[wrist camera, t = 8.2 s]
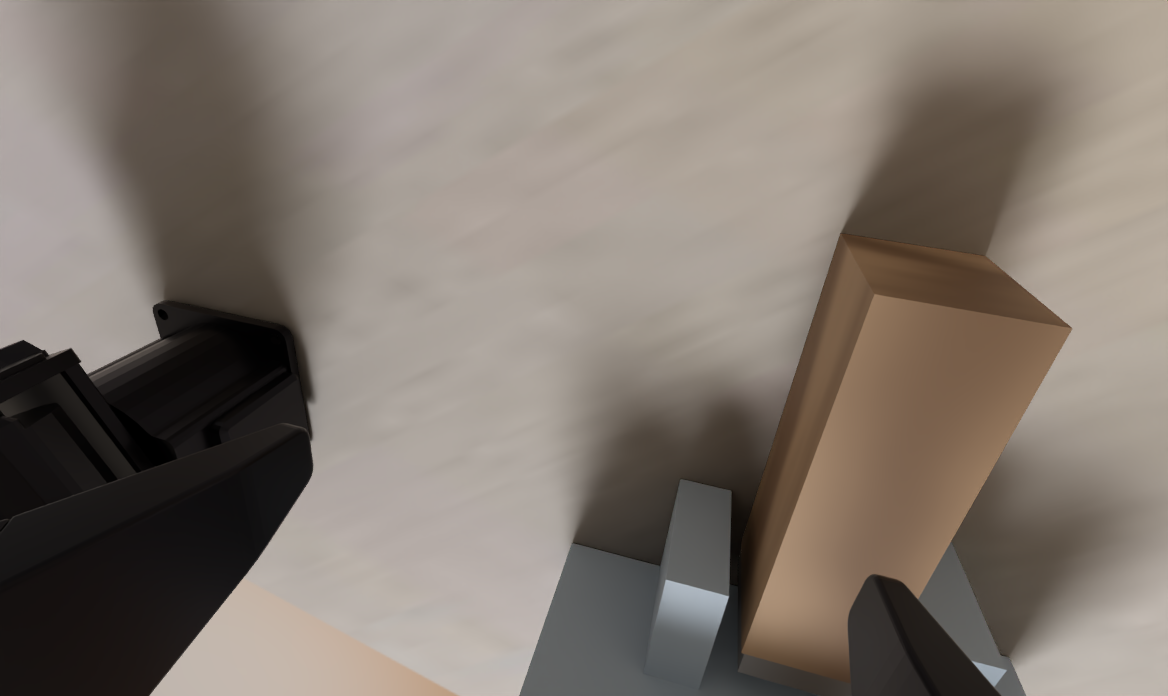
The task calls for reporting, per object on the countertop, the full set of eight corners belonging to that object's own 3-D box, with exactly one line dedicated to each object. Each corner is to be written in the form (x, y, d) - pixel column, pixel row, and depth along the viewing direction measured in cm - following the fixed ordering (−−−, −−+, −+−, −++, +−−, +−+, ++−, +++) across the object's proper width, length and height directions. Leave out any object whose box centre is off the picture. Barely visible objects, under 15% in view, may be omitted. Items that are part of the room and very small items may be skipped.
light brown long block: (735, 558, 24) (734, 671, 19) (840, 233, 17) (874, 294, 13) (835, 584, 23) (857, 706, 19) (984, 255, 16) (1072, 328, 12)
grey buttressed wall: (568, 576, 27) (482, 834, 18) (582, 455, 23) (485, 701, 14) (985, 689, 24) (1130, 1067, 15) (1072, 571, 20) (1328, 970, 11)
